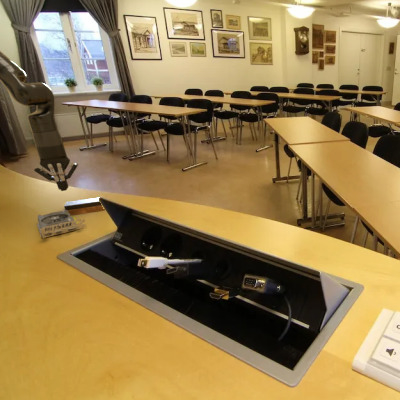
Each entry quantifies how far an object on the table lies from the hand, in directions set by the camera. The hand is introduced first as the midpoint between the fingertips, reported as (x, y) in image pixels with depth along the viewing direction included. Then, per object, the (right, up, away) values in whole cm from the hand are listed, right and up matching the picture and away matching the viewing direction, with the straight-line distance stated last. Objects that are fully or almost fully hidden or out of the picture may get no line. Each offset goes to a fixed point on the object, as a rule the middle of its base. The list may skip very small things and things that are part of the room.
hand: (64, 190), depth 118 cm
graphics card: (+4, -13, -7) cm, 15 cm away
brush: (-1, -7, +2) cm, 8 cm away
